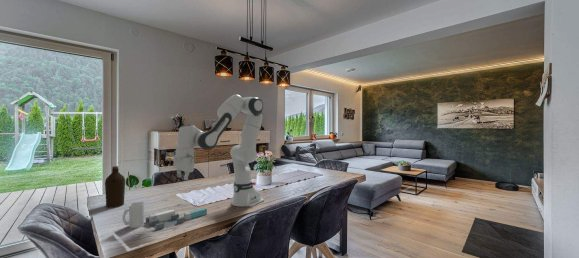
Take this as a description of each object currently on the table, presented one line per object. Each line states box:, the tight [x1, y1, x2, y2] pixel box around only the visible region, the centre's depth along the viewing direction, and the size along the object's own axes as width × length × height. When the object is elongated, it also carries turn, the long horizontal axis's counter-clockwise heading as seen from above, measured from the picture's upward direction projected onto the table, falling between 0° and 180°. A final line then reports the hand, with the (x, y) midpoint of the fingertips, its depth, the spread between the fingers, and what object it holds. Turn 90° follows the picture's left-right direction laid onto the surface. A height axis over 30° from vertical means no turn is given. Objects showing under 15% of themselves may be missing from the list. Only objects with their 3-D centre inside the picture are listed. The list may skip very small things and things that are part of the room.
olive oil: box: [104, 165, 126, 209], centre depth 156 cm, size 11×11×25 cm
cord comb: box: [145, 213, 186, 231], centre depth 129 cm, size 14×14×4 cm
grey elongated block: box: [148, 209, 176, 223], centre depth 131 cm, size 12×3×4 cm, turn 139°
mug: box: [122, 201, 145, 229], centre depth 123 cm, size 10×7×12 cm, turn 150°
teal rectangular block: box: [183, 207, 208, 221], centre depth 138 cm, size 12×3×4 cm, turn 139°
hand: (182, 178), depth 135 cm, fingers open, 8 cm apart
